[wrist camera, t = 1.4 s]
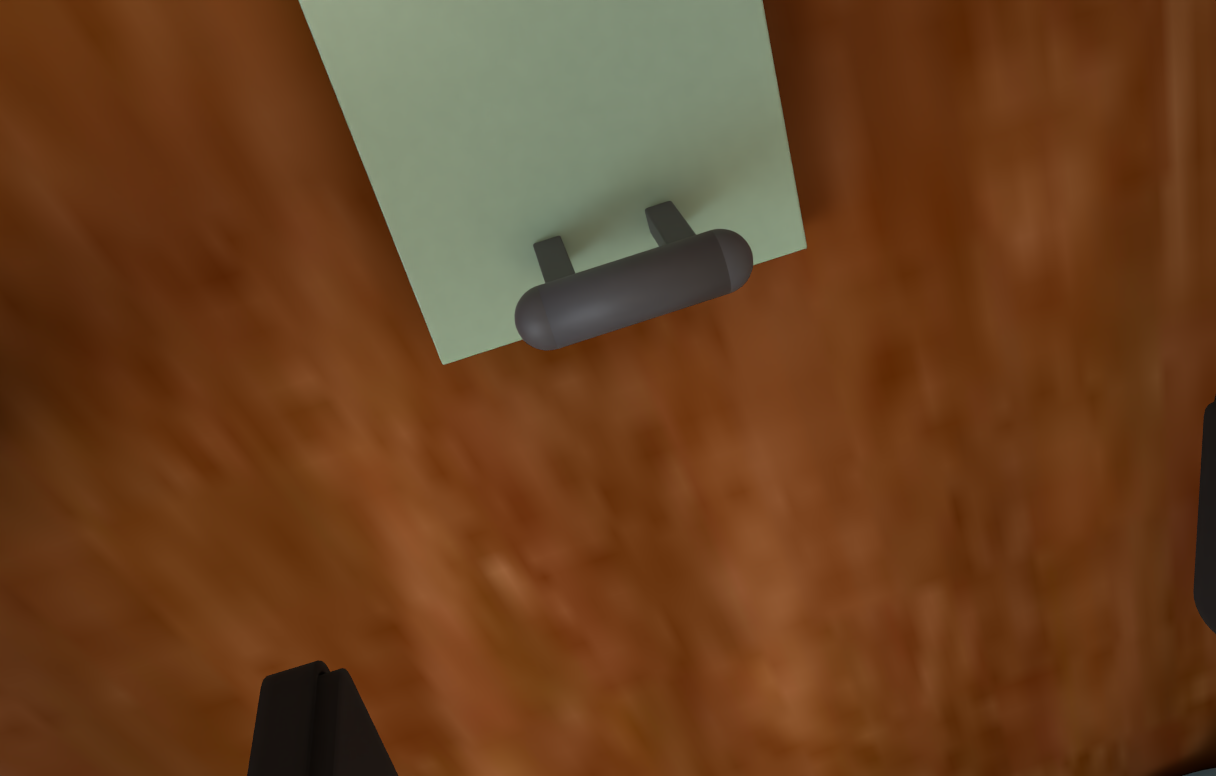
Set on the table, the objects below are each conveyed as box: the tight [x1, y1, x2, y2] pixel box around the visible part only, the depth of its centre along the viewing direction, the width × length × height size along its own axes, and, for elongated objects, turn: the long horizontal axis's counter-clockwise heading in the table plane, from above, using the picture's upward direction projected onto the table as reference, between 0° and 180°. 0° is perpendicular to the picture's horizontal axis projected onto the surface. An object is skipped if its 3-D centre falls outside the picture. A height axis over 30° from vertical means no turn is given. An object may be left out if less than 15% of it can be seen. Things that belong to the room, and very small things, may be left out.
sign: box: [299, 0, 807, 365], centre depth 25 cm, size 13×11×6 cm
